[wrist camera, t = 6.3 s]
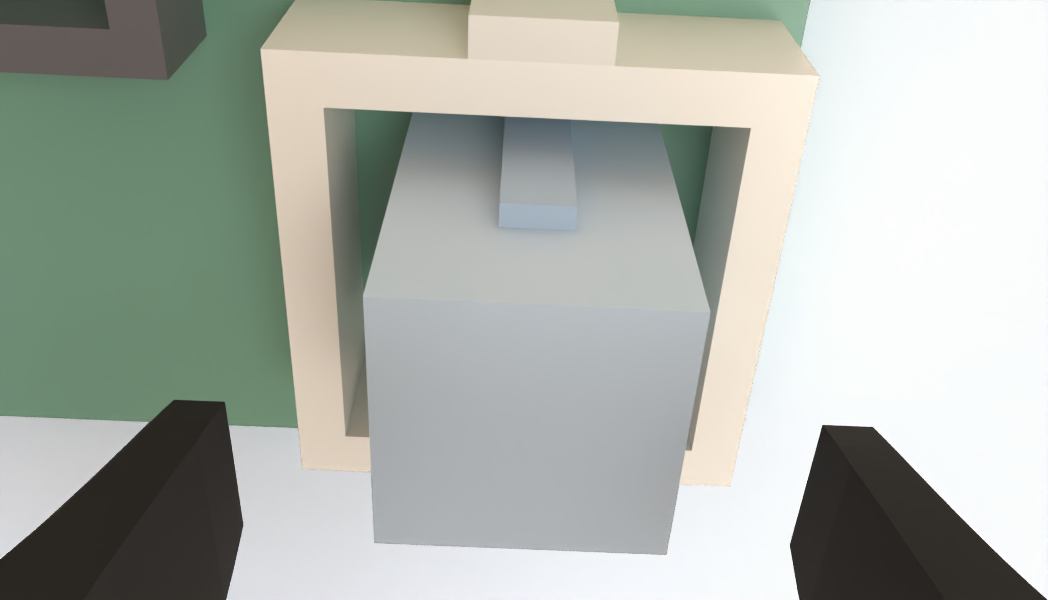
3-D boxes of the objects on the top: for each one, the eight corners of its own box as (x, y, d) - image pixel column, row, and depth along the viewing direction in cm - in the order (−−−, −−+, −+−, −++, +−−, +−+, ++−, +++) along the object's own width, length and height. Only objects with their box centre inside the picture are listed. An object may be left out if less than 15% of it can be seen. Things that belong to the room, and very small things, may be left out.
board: (712, 414, 21) (719, 444, 20) (-98, 380, 21) (-124, 410, 20) (833, -213, 15) (851, -205, 14) (-340, -276, 14) (-395, -272, 14)
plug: (630, 313, 19) (666, 555, 14) (417, 303, 18) (374, 543, 13) (658, 93, 16) (715, 286, 11) (415, 81, 16) (361, 270, 11)
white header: (708, 398, 20) (730, 486, 18) (327, 382, 20) (302, 469, 17) (788, -18, 15) (828, 32, 13) (294, -44, 15) (255, 3, 13)
